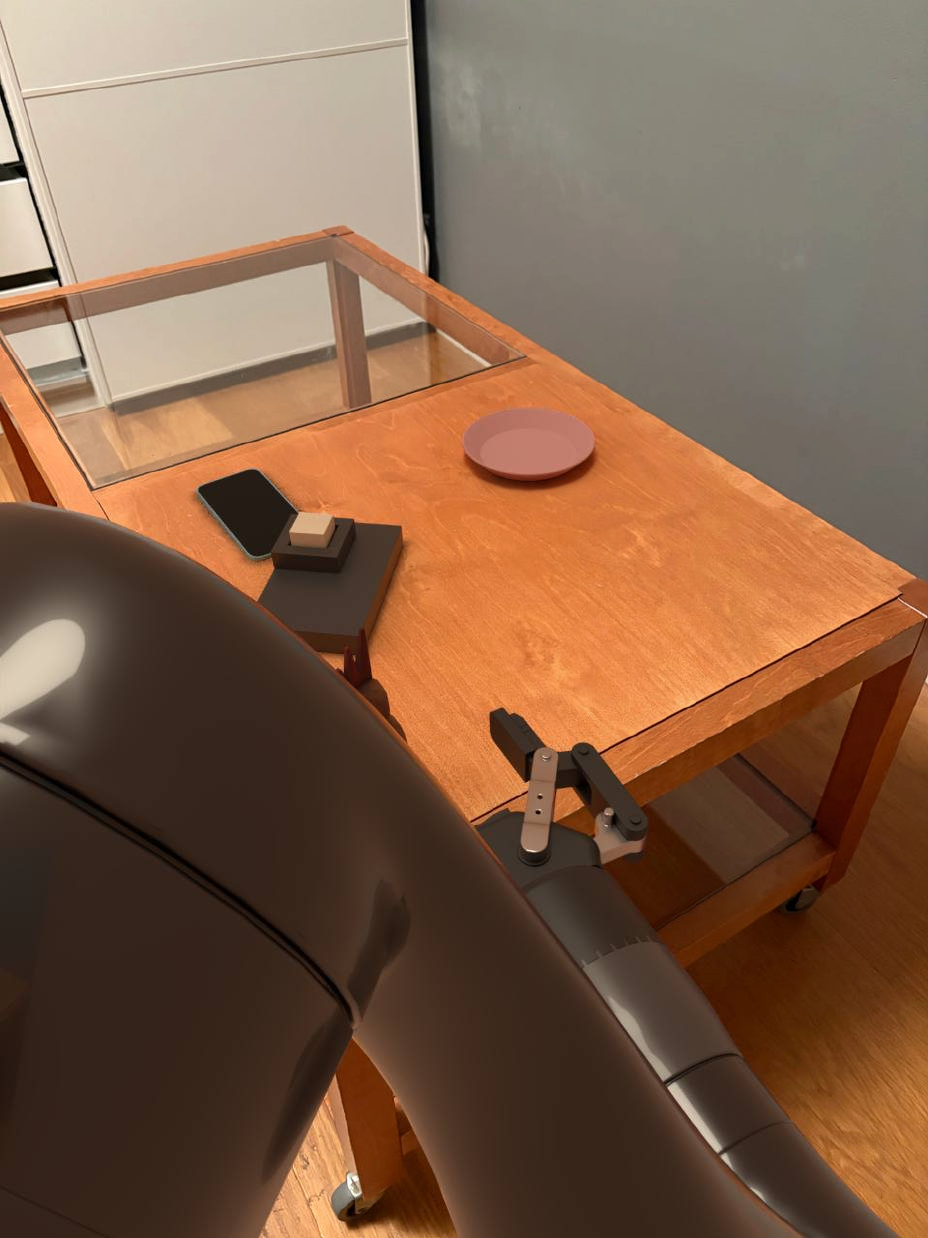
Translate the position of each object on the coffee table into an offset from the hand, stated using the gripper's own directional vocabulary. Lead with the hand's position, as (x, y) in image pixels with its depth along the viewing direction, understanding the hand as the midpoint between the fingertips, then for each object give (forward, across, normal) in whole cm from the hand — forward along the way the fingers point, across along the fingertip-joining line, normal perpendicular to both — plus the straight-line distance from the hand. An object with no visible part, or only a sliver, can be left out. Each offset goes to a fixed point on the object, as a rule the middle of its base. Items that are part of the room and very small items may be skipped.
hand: (422, 750), depth 49 cm
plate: (+47, -34, +16) cm, 60 cm away
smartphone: (+50, -5, +17) cm, 53 cm away
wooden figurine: (+11, 0, +16) cm, 20 cm away
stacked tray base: (+35, -7, +16) cm, 39 cm away
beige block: (+39, -7, +13) cm, 41 cm away
